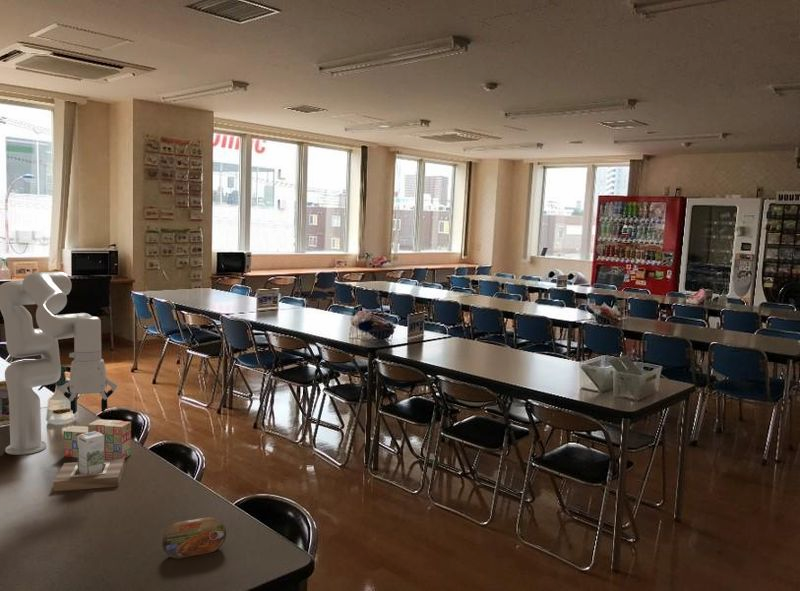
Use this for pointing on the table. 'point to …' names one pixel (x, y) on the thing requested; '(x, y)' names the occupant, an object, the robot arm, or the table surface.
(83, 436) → the syrup box
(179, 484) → the table surface
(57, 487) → the socket board
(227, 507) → the table surface
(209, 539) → the tin
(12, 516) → the table surface
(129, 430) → the stack of blocks
